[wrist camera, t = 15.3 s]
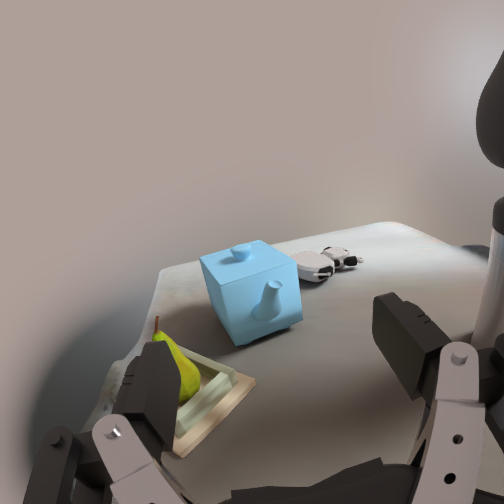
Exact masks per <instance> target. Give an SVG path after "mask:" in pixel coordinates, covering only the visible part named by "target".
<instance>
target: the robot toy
mask: <svg viewBox="0 0 504 504" xmlns="http://www.w3.org/2000/svg"><path fill="white" fill-rule="evenodd" d="M290 258H292V259H294V260H295V261H296V264H297V272H298V277H299V278H301V279H304V280H307V281H312V282H321V281H323V280H324V279H326V278H329V277H331V276H332V275H333V274H334V269H337V268H338V269H340V268H344V266H345V265H347V266H355V265H357V263H363V259H362V258H359V257H358V258H356V256H351V257H349V250H348V251H347V250H344V249H342V248H338V247H327V248H325V249H324V251H323V252H322V253H316V252H301V253H297V254H294V255H291V256H290Z"/></svg>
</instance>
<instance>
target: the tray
mask: <svg viewBox="0 0 504 504" xmlns="http://www.w3.org/2000/svg"><path fill="white" fill-rule="evenodd" d="M177 346H178V348H179V349H180V351H181V352H182V353H183V355H184V356H185V357H186V358H187V359H189V360H190V361H191V362H192V363H193V364H194V365H195V366H196V367H197V368H198V370H199V372H200V389H199V391H198V392H197V393H196V394H195V395H194V396H193V397H192V398H191V399H188V400H185V401H182V402H179V403H178V410H177V418H176V426H175V434H174V442H173V452H174V453H175V454H177V455H178V456H180V457H181V458H182V459H183V458H184V457H185V456H186V455H188V454H189V453H190V452H191V451H192V450H193V449H194V448H195V447H196V446H197V445H198V444H199V443H200V442H201V441H202V440H203V439H204V438H205V437H206V436H207V435H208V434H209V433H210V432H211V431H212V430H213V429H214V428H215V427H216V426H217V425H218V424H219V423H220V422H221V421H222V420H223V419H224V418H225V417H226V416H227V415H228V414H229V413H230V412H231V411H232V410H233V409H234V408H235V407H236V406H237V405H238V404H239V402H240V401H241V400H242V399H243V398H244V397H245V396H246V395H247V394H248V393H249V392H250V391H251V389H252V388H253V387H254V386H255V385H256V380H255V379H254V378H252V377H249V376H246V375H244V374H241V373H239V372H236V371H235V370H234V369H233V368H230V367H228V366H225V365H223V364H220V363H218V362H215V361H213V360H211V359H208V358H206V357H203V356H201V355H199V354H197V353H194V352H192V351H190V350H188V349H185V348H183V347H181V346H179V345H177ZM115 401H116V400H115Z"/></svg>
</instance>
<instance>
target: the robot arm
mask: <svg viewBox="0 0 504 504" xmlns="http://www.w3.org/2000/svg"><path fill="white" fill-rule="evenodd" d="M476 131H477V138H478V141H479V145H480V147H481V149H482V152H483V153H484V155H485V156H486V158H487V159H488V160H489V161H490V162H492V163H493V164H494V165H496V166H498V167H501V168H504V51H503V53H502V55H501V57H500V59H499V61H498V63H497V65H496V67H495V69H494V70H493V72H492V74H491V76H490V78H489V79H488V81H487V83H486V85H485V87H484V89H483V91H482V94H481V96H480V99H479V103H478V108H477V115H476ZM372 333H373V338H374V341H375V343H376V345H377V346H378V348H379V349H380V351H381V352H382V354H383V355H384V357H385V358H386V360H387V361H388V363H389V364H390V366H391V368H392V369H393V371H394V372H395V374H396V375H397V377H398V378H399V380H400V382H401V383H402V385H403V386H404V388H405V390H406V391H407V393H408V394H409V396H410V398H411V399H412V400H415V399H417V398H419V397H421V396H423V398H424V399H425V403H424V406H423V410H422V415H421V419H420V424H419V428H418V432H417V436H416V439H415V443H414V446H413V449H412V452H411V454H410V457H409V459H408V462H407V464H384V465H383V463H382V461H381V458H380V457H379V458H376V459H374V460H371V461H368V462H365V463H362V464H359V465H356V466H353V467H350V468H347V469H344V470H342V471H341V472H339V473H337V474H335V475H333V476H331V477H329V478H327V479H325V480H323V481H321V482H319V483H317V484H315V485H312V486H309V487H276V486H266V487H258V488H250V489H241V490H231V496H232V498H231V499H228V500H225V501H223V502H220V503H218V504H504V496H500V495H496V494H493V493H489V492H486V491H483V490H479V489H476V485H477V480H478V474H479V468H480V462H481V455H482V446H483V437H484V424H485V422H486V424H487V425H488V427H489V429H490V430H491V432H492V434H493V436H494V437H495V439H496V441H497V442H498V444H499V446H500V448H501V449H502V451H503V453H504V197H502V198H500V199H499V200H497V202H496V203H495V205H494V209H493V222H492V234H491V244H490V253H489V261H488V267H487V274H486V280H485V285H484V290H483V295H482V300H481V304H480V309H479V313H478V317H477V320H476V324H475V328H474V332H473V335H472V339H471V342H470V345H469V344H467V343H465V342H452V341H451V340H450V339H449V337H448V336H447V335H446V334H445V333H444V332H443V331H442V330H441V329H440V328H439V327H438V326H437V325H436V324H435V323H434V322H433V321H431V319H430V318H429V317H428V316H427V315H425V313H424V312H423V311H422V310H421V309H420V308H419V307H418V306H417V305H415V304H413V303H411V302H409V301H404V302H403V301H402V300H401V299H400V298H399V297H398V296H397V295H396V294H395V293H394V292H390V293H387V294H384V295H380V296H377V297H375V298H374V301H373V322H372ZM124 376H125V377H124V378H123V381H122V386H120V389H119V392H118V395H117V398H116V401H115V404H114V407H113V410H112V413H111V415H107V416H105V417H103V418H101V419H100V420H99V421H98V422H97V423H96V424H95V426H94V428H93V431H90V432H86V433H81V434H76V435H74V434H73V433H72V432H71V431H70V430H69V429H68V428H67V427H64V426H58V427H54V428H52V429H51V430H49V431H48V432H47V433H46V434H45V436H44V438H43V440H42V443H41V446H40V449H39V451H38V454H37V457H36V460H35V463H34V467H33V469H32V473H31V476H30V479H29V483H28V486H27V490H26V494H25V497H24V501H23V504H71V502H70V493H71V488H72V484H73V480H74V478H76V479H77V481H76V486H75V490H74V496H73V501H72V504H111V502H112V494H113V495H114V496H115V498H116V500H117V502H118V504H198V503H197V502H196V501H195V500H194V499H193V498H192V497H191V496H190V495H189V493H188V492H187V491H186V490H185V489H184V488H183V486H182V485H181V484H180V483H179V482H178V480H177V479H176V478H175V477H174V475H173V474H172V473H171V472H170V470H169V469H168V468H167V467H166V465H165V464H164V463H163V461H162V460H161V453H162V451H173V442H174V434H175V426H176V418H177V410H178V403H179V396H180V389H181V374H180V371H179V368H178V366H177V364H176V361H175V359H174V357H173V355H172V353H171V350H170V348H169V346H168V344H167V342H166V341H165V340H161V341H153V342H146V343H145V345H144V347H143V350H142V353H141V356H136V357H135V358H134V359H133V360H132V361H131V363H130V364H129V365H128V367H127V370H126V372H125V375H124Z"/></svg>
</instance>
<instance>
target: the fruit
mask: <svg viewBox="0 0 504 504" xmlns="http://www.w3.org/2000/svg"><path fill="white" fill-rule="evenodd" d="M158 319H159V316H156V322H155V331H154V334H153V336H152V342H153V341H161V340H165V341H166V342H167V344H168V346H169V348H170V350H171V353H172V355H173V357H174V359H175V361H176V364H177V366H178V368H179V371H180V374H181V389H180V396H179V402H182V401H185V400H188V399H191V398H192V397H193V396H194V395H195V394H196V393H197V392H198V391H199V389H200V372H199V370H198V368H197V367H196V366H195V365H194V364H193V363H192V362H191V361H190V360H189V359H187V358H186V357H185V356H184V355H183V353H182V352H181V351H180V349H179V348H178V346H177V345H176V344H175V343H174V341H173V340H172V339H171V338H170V337H168V336H167V335H166V334H165V333H163V332H162V331H160V330H159V331H158Z"/></svg>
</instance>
